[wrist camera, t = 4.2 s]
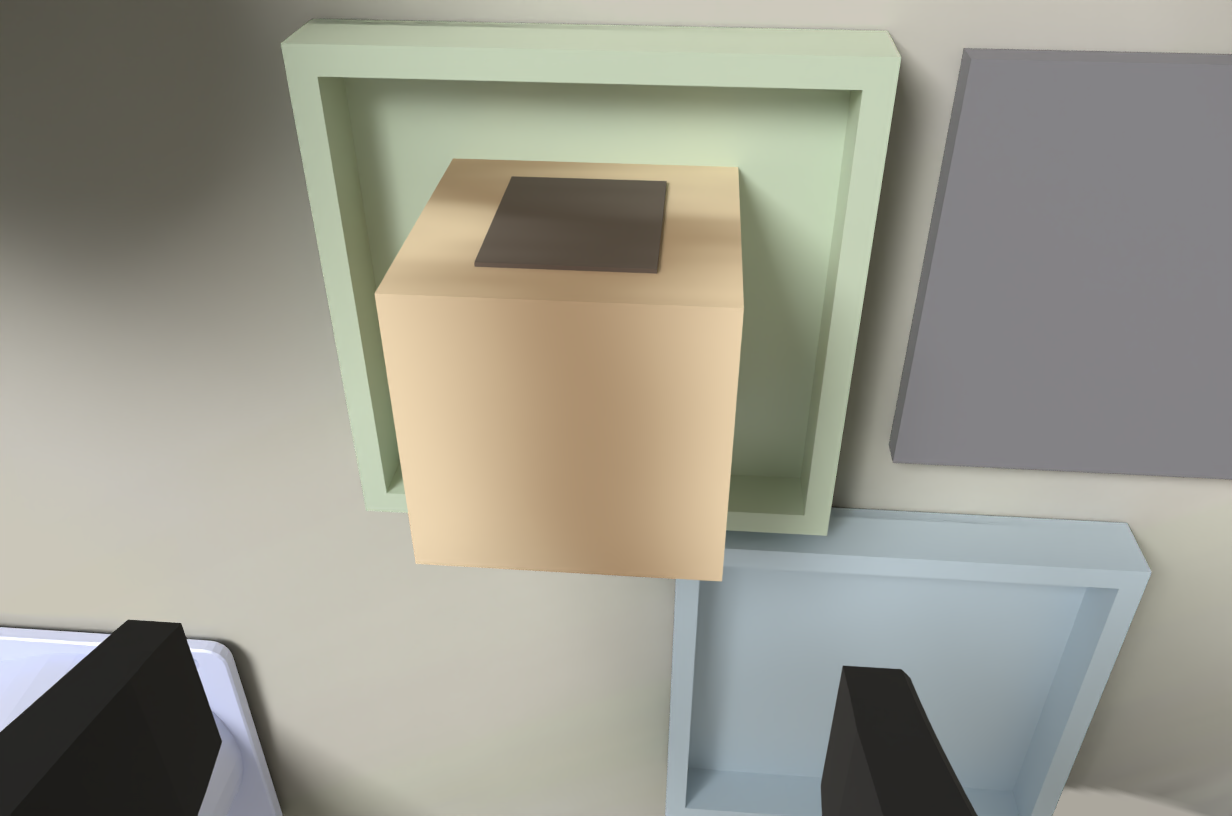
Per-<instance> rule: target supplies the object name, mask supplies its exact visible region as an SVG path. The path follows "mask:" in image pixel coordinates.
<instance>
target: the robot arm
mask: <svg viewBox="0 0 1232 816" xmlns="http://www.w3.org/2000/svg"><path fill="white" fill-rule="evenodd" d="M821 807H822V816H978V815H977V813H976V812H975V810H974V808H973V806H972V804H971V802H970V801H969V799H968V797H967V795H966V793H965V791H964V789H963V787H962V785H961V783H960V782H959V780H958V778H957V776H956V774H955V772H954V770H953V768H952V766H951V764H950V762H949V760H948V758H947V756H946V754H945V752H944V750H943V748H942V746H941V744H940V742H939V740H938V738H937V736H936V734H935V732H934V730H933V728H932V725H931V723H930V721H929V719H928V717H927V715H926V712H925V710H924V708H923V706H922V704H921V701H920V699H919V697H918V695H917V692H916V690H915V688H914V685H913V683H912V680H911V678H910V677H909V676H908V675H907V674H906V673H905V672H904V671H903V670H902V669H890V668H875V667H859V666H844V665H843V667H842V672H841V678H840V683H839V688H838V694H837V699H836V704H835V710H834V715H833V721H832V726H831V731H830V737H829V742H828V748H827V753H826V758H825V764H824V769H823V774H822V780H821ZM0 816H283V814H282V811H281V808H280V805H279V802H278V799H277V795H276V792H275V789H274V786H273V783H272V779H271V776H270V773H269V770H268V767H267V763H266V760H265V757H264V754H263V751H262V748H261V744H260V741H259V738H258V735H257V732H256V728H255V725H254V722H253V719H252V716H251V712H250V709H249V706H248V703H247V700H246V697H245V693H244V690H243V687H242V684H241V681H240V677H239V674H238V671H237V668H236V665H235V661H234V658H233V655H232V654H231V652H230V650H229V649H228V648H227V647H226V646H224V645H223V644H221V643H219V642H215V641H209V640H194V639H186V636H185V633H184V630H183V627H182V625H181V623H171V622H155V621H139V620H127V621H126V622H125V623H124V624H123V625H121V626H120V627H119V628H118V629H117V630H115V631H114V632H113V633H112V634H100V633H85V632H69V631H53V630H38V629H22V628H7V627H0Z"/></svg>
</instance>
